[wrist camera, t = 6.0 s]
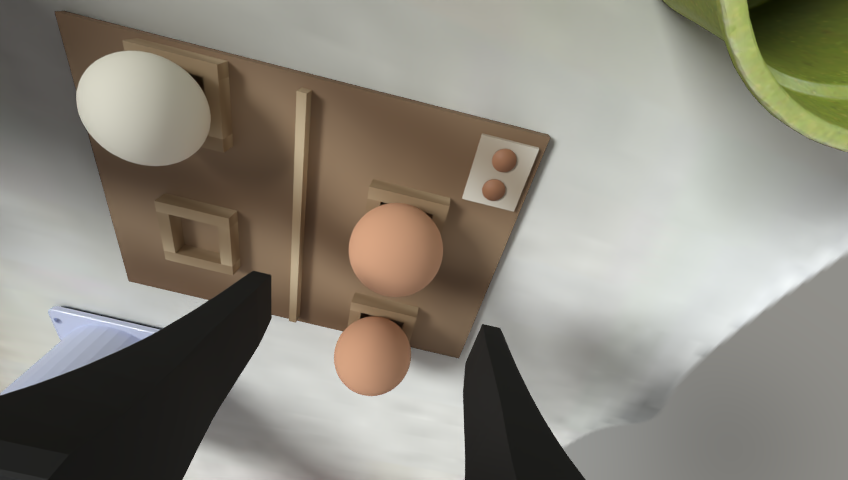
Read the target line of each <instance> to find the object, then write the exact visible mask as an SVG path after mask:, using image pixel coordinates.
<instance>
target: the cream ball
mask: <svg viewBox="0 0 848 480" xmlns="http://www.w3.org/2000/svg"><path fill="white" fill-rule="evenodd" d="M76 101H77V109H78V113H79V116H80V118H81V120H82V123H83V124H84V126H85V128H86V129H87V131H88V132H89V134H90V135H91V136H92V137H93V138H94V139H95V140H96V141H97V142H98V143H99V144H100V145H101V146H102V147H103V148H105V149H106V150H107V151H109V152H110V153H112V154H114V155H116V156H118V157H120V158H122V159H124V160H126V161H129V162H132V163H136V164H140V165H147V166H165V165H171V164H175V163H178V162H181V161H183V160H185V159H187V158H189V157H190V156H192V155H193V154H194V153H196V152H197V151H198V150H199V149H200V147H201V146H202V145H203V143H204V142H205V140H206V138H207V136H208V133H209V130H210V123H211V114H210V108H209V105H208V101H207V99H206V96H205V94H204V92H203V91H202V89H201V87H200V86H199V85H198V83H197V82H196V81H195V80H194V79H193V77H192V76H191V75H190V74H189V73H187V72H186V71H185V70H184V69H183V68H181V67H180V66H179V65H177V64H175V63H174V62H172V61H170V60H168V59H166V58H164V57H161V56H158V55H155V54H152V53H148V52H142V51H121V52H115V53H112V54H109V55H106V56H104V57H102V58H100V59H98V60H96V61H95V62H94V63H93V64H91V65H90V66H89V67H88V68H87V69H86V71H85V72H84V73H83V75H82V77H81V79H80V81H79V84H78V88H77V93H76Z"/></svg>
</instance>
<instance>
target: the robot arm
mask: <svg viewBox="0 0 848 480" xmlns="http://www.w3.org/2000/svg"><path fill="white" fill-rule="evenodd" d="M48 313H49V316H50V318H51V320H52V322H53V325H54V327H55V329H56V331H57V333H58V336H59V338H60V340H61V341H60V342H59V343H58V344H57V345H56V346H54V347H53V348H52V349H51V350H50V351H49V352H48V353H46V354H45V355H44V356H43V357H42V358H41V359H39V360H38V361H37V362H36V363H35V364H34V365H32V366H31V367H30V368H29V369H28V370H27V371H25V372H24V373H23V374H22V375H21V376H20V377H18V378H17V379H16V380H15V381H14V382H13V383H12V384H10V385H9V386H8V387H7V388H6V389H5V390H3V391H2V392H1V393H0V480H182V479H183V477H184V475H185V473H186V471H187V469H188V467H189V465H190V463H191V461H192V459H193V457H194V455H195V453H196V451H197V449H198V447H199V445H200V443H201V441H202V439H203V437H204V435H205V433H206V431H207V429H208V427H209V425H210V423H211V421H212V420H213V418H214V416H215V414H216V413H217V411H218V409H219V407H220V406H221V404H222V402H223V401H224V399H225V398H226V396H227V395H228V393H229V392H230V390H231V388H232V387H233V385H234V384H235V382H236V381H237V379H238V377H239V376H240V374H241V373H242V371H243V370H244V368H245V366H246V365H247V363H248V362H249V360H250V359H251V357H252V355H253V354H254V352H255V351H256V349H257V347H258V346H259V344H260V342H261V340H262V338H263V336H264V333H265V331H266V329H267V327H268V325H269V323H270V320H271V275H270V274H266V273H261V272H257V271H252V272H250V273H249V274H247V275H246V276H244V277H243V278H241V279H240V280H238V281H237V282H235V283H234V284H233V285H231V286H230V287H228V288H227V289H225V290H224V291H222V292H221V293H219V294H218V295H216V296H215V297H213V298H212V299H210V300H209V301H207V302H206V303H204V304H203V305H201V306H200V307H198V308H197V309H195V310H193V311H192V312H190V313H188V314H187V315H185V316H183V317H182V318H180V319H178V320H177V321H175V322H173V323H172V324H170V325H168V326H166V327H165V328H163V329H161V330H160V329H156V328H151V327H147V326H143V325H138V324H134V323H130V322H125V321H121V320H117V319H112V318H108V317H104V316H99V315H95V314H90V313H86V312H82V311H77V310H73V309H69V308H64V307H60V306H54V307H52V308H51V309H49V311H48ZM463 404H464V435H465V480H585V478H584V477H583V476H582V474H581V473H580V472H579V471H578V469H577V468H576V467H575V465H574V464H573V462H572V461H571V460H570V459H569V457H568V456H567V454H566V453H565V451H564V450H563V448H562V447H561V445H560V444H559V442H558V441H557V439H556V438H555V436H554V435H553V433H552V432H551V430H550V428H549V427H548V425H547V423H546V422H545V420H544V418H543V417H542V415H541V413H540V411H539V410H538V408H537V406H536V404H535V402H534V400H533V399H532V397H531V395H530V393H529V391H528V389H527V387H526V385H525V383H524V381H523V379H522V377H521V375H520V373H519V370H518V368H517V366H516V364H515V362H514V359H513V357H512V355H511V352H510V350H509V348H508V345H507V343H506V340H505V338H504V335H503V333H502V331H501V329H500V328H497V327H493V326H489V325H484V324H482V326H481V328H480V331H479V333H478V335H477V338H476V340H475V342H474V345H473V347H472V349H471V352H470V354H469V356H468V359H467V361H466V365H465V376H464V388H463Z"/></svg>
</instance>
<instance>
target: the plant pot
mask: <svg viewBox="0 0 848 480" xmlns="http://www.w3.org/2000/svg"><path fill="white" fill-rule="evenodd" d="M663 1H664V2H665V3H666V4H667V5H668V6H669V7H671V8H672V9H673V10H675V11H676V12H678V13H679V14H681V15H683V16H684V17H686V18H688V19H689V20H691V21H693V22H695V23H696V24H698V25H700V26H701V27H703V28H705V29H706V30H708V31H709V32H711V33H713V34H714V35H716V36H717V37H719V38H720V39H722V40H724V41H725V44H726V46H727V49H728V52H729V55H730V58H731V60H732V63H733V65H734V67H735V69H736V71H737V72H738V74H739V76H740V77H741V79H742V80H743V82H744V83H745V85H746V86H747V88H748V90H749V91H750V92H751V94H752V95H753V96H754V97H755V98H756V99H757V101H758V102H759V103H760V104H761V105H762V106H763V107H764V108H765V109H766V110H767V111H768V112H769V113H770V114H771V115H773V116H774V117H776V118H777V119H778V120H780V121H781V122H783V123H784V124H786V125H787V126H789V127H790V128H792V129H793V130H795V131H797V132H798V133H800V134H802V135H804V136H805V137H807V138H809V139H811V140H813V141H815V142H818V143H820V144H823V145H826V146H829V147H832V148H835V149H838V150H842V151H845V152H848V0H663Z"/></svg>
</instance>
